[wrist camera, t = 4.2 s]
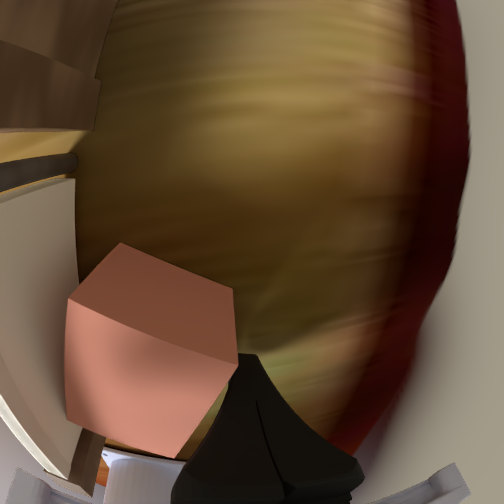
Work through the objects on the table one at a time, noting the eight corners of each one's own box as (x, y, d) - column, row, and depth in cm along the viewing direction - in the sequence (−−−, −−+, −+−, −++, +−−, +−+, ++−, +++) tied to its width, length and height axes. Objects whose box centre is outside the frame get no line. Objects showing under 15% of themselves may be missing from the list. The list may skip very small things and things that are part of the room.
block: (180, 389, 13) (173, 458, 9) (95, 356, 12) (67, 419, 8) (232, 288, 11) (238, 365, 7) (120, 242, 10) (68, 298, 6)
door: (100, 382, 12) (67, 479, 6) (83, 378, 12) (47, 471, 6) (76, 178, 9) (-58, 230, 3) (55, 178, 9) (-75, 227, 2)
